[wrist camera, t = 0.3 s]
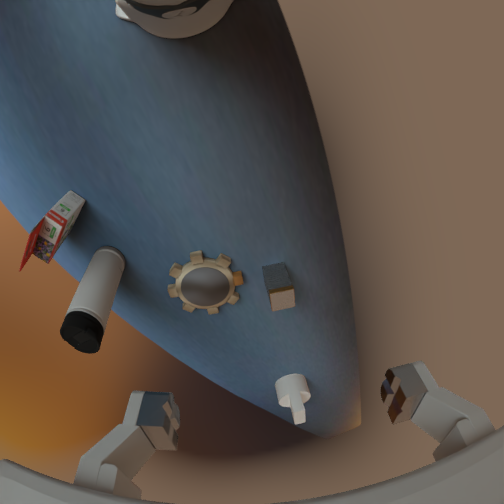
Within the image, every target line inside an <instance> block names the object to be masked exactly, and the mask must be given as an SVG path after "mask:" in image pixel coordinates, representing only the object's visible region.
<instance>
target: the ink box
mask: <svg viewBox="0 0 504 504" xmlns="http://www.w3.org/2000/svg"><path fill="white" fill-rule="evenodd" d="M84 202H85V199H83V198H82V197H80V196H79V195H77V194H76V193H74V192H73V191H71V190H70V191H69V192H68V193H67V194H66V195H65V196H64V197H63V198H62V199H61V200H60V201H59V202H57V203H56V204H55V205H54V206H53V207H52V209H51V210H50V211H49V212H48V213H47V214H46V215H45V216H44V217H43V218H42V219H41V220H40V221H39V222H38V224H37V225H36V226H35V227H34V228H33V229H32V231H31V232H30V235H29V239H28V242H27V245H26V248H25V252H24V255H23V259H22V262H21V266H20V271H21V269H22V268H23V267H24V265H25V264H26V262H27V261H28V259H29V258H30V256H31V254H34V255H35V256H37V257H38V258H40V259H41V260H43V261H44V262H46V263H49V262H50V260H51V259H52V257H53V256H54V254H55V253H56V251H57V250H58V249H59V247H60V246H61V244H62V243H63V241H64V240H65V239H66V237H67V236H68V235H69V233H70V231H71V229H72V227H73V225H74V223H75V221H76V219H77V217H78V215H79V213H80V211H81V209H82V206H83V204H84Z"/></svg>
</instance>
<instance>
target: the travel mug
mask: <svg viewBox="0 0 504 504" xmlns="http://www.w3.org/2000/svg"><path fill="white" fill-rule="evenodd" d="M124 267H125V259H124V256H123V255H122V253H121V252H120V251H119V250H117V249H116V248H114V247H110V246H103V247H100V248H99V249H97V250H96V252H95V254H94V256H93V258H92V260H91V262H90V264H89V266H88V268H87V270H86V272H85V274H84V276H83V278H82V280H81V282H80V284H79V286H78V289H77V291H76V293H75V295H74V297H73V300H72V302H71V304H70V306H69V309H68V311H67V314H66V316H65V319H64V322H63V324H62V327H61V329H60V334H61V336H62V338H63V339H64V340H65V341H67V342H68V343H69V344H70V345H72V346H73V347H75V349H76V350H78V351H81V352H84V353H96V352H98V350H99V349H100V345H101V341H102V337H103V335H104V331H105V328H106V324H107V321H108V318H109V314H110V311H111V307H112V304H113V301H114V298H115V295H116V291H117V288H118V285H119V282H120V279H121V276H122V273H123V270H124Z"/></svg>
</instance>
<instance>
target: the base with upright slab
mask: <svg viewBox="0 0 504 504" xmlns="http://www.w3.org/2000/svg"><path fill="white" fill-rule="evenodd" d="M275 388H276V392H277V397H278V401H279V404H280V405H281V406H284V407H291V411H292V415H293V419H294V423H295V424H300V423H304V422H305V409H304V405H303V403H305V402H306V401H308V400H309V398H310V396H311V395H310V392H309V388H308V385H307V382H306V378H305V376H304V375H301V374H290V375H286V376H284V377H282V378H280V379H278V380H277V381H276V383H275Z"/></svg>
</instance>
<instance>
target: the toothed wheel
mask: <svg viewBox="0 0 504 504" xmlns="http://www.w3.org/2000/svg"><path fill="white" fill-rule="evenodd" d="M190 259H191V261H189V262H187V263H186V264H184V265H183V266H181V265H179V264H177V263H174V264H173V266H172V267H171V269H170V272H169V275H170V276H172V277H174V278H176V283H175V284H170V285H168V292H169V295H170V297H171V298H173V297H178V296H179V297H180V299H181V300H182V301H183V302H184V303H183V308H182V309H184V310H186V311H189V312H192V311H193V310H194V309H195V308H200V309H207V311H208V313H209V314H214V313H219V310H218V306H221V305H223V304H224V303H226V302H228V303H230V304H233V305H234V304H235V303H236V301H237V300H238V299H239V293H237V292H235V291H234V290H235V286H236V285H241V284H243V279H242V274H241V271H237V272H232V271H231V269H230V268H229V267H228V266H229V265H230V264H231V258H230V257H228V256H226V255H224V254H222V253H221V254H220V255H219V256H218V258H217V259H213V258H203V254H202V251H201V250H200V251H195V252H191V253H190Z"/></svg>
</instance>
